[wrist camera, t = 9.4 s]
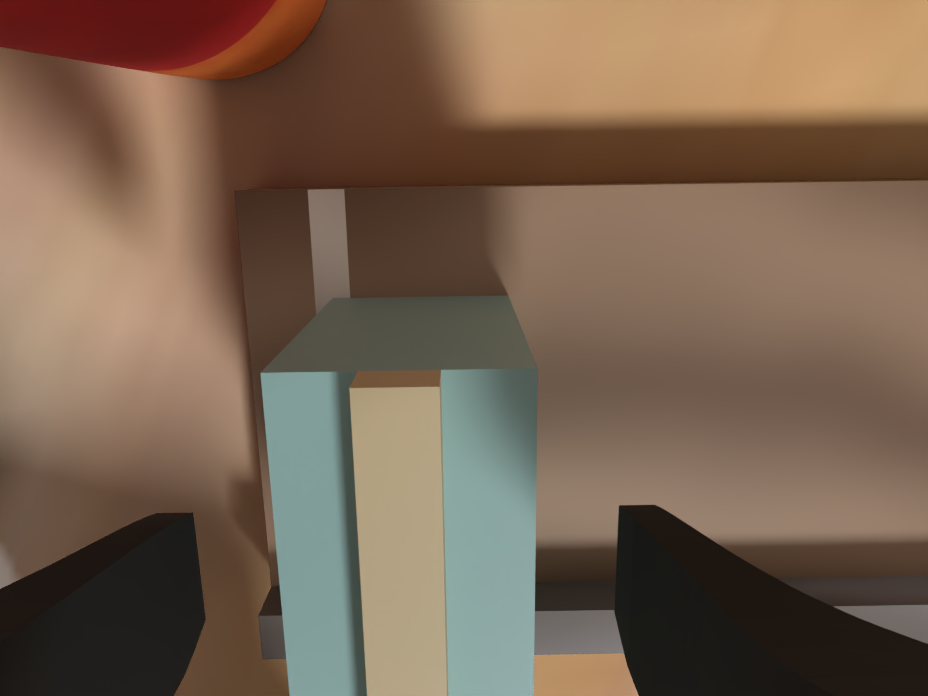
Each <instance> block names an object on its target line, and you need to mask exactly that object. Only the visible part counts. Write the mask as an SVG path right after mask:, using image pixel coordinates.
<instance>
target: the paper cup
mask: <svg viewBox="0 0 928 696" xmlns="http://www.w3.org/2000/svg"><path fill="white" fill-rule="evenodd" d="M326 2H327V0H0V47H5V48H11V49H16V50H22V51H28V52H33V53H39V54H45V55H51V56H57V57H63V58H69V59H75V60H80V61H86V62H92V63H98V64H104V65H110V66H116V67H122V68H128V69H134V70H141V71H147V72H153V73H159V74H166V75H173V76H181V77H190V78H198V79H233V78H239V77H244V76H248V75H251V74H255V73H258V72H260V71H263V70H265V69H268V68H270V67H271V66H273V65H275V64H277V63H278V62H280V61H282V60H283V59H285V58H286V57H287V56H288V55H290V54H291V53H292V52H293V51H294V50H295V49H297V48H298V47H299V46H300V44H301V43H302V42H303V41H304V40H305V39H306V38H307V36H308V35H309V34H310V32H311V31H312V29H313V28H314V26H315V25H316V23H317V21H318V20H319V18H320V16H321V14H322V11H323V9H324V7H325V4H326Z"/></svg>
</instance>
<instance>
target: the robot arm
mask: <svg viewBox="0 0 928 696" xmlns="http://www.w3.org/2000/svg"><path fill="white" fill-rule="evenodd" d="M614 613H615V617H616V621H617V626H618V630H619V634H620V638H621V643H622V646H623V650H624V654H625V658H626V662H627V666H628V668H629V671H630V674H631V676H632V679H633V682H634V684H635V687H636V689H637V692H638V695H639V696H928V644H927V643H924V642H921V641H918V640H916V639H913V638H910V637H907V636H905V635H902V634H899V633H897V632H894V631H891V630H888V629H886V628H883V627H880V626H878V625H875V624H873V623H870V622H868V621H865V620H863V619H860V618H858V617H855V616H853V615H851V614H848V613H846V612H844V611H842V610H840V609H837V608H835V607H833V606H831V605H829V604H826V603H824V602H822V601H820V600H818V599H815V598H813V597H811V596H809V595H807V594H805V593H803V592H801V591H799V590H797V589H795V588H793V587H791V586H789V585H787V584H786V583H784V582H782V581H780V580H778V579H777V578H775V577H773V576H771V575H769V574H768V573H766V572H764V571H762V570H760V569H758V568H757V567H755V566H753V565H752V564H750V563H748V562H747V561H745V560H743V559H742V558H740V557H738V556H737V555H735V554H733V553H732V552H730V551H729V550H727V549H725V548H724V547H722V546H721V545H719V544H717V543H716V542H714V541H713V540H711V539H710V538H708V537H707V536H705V535H703V534H702V533H700V532H699V531H697V530H696V529H694V528H693V527H691V526H690V525H688V524H687V523H685V522H684V521H682V520H680V519H679V518H677V517H676V516H674V515H673V514H671V513H669V512H668V511H666V510H664V509H662V508H661V507H659V506H657V505H619V514H618V538H617V561H616V584H615V608H614ZM205 620H206V619H205V611H204V602H203V594H202V585H201V577H200V568H199V560H198V551H197V543H196V534H195V526H194V517H193V513H156V514H154V515H151V516H148V517H145V518H143V519H141V520H138V521H136V522H134V523H132V524H130V525H128V526H126V527H123V528H121V529H119V530H117V531H115V532H113V533H112V534H110V535H108V536H106V537H104V538H102V539H100V540H98V541H96V542H94V543H92V544H90V545H88V546H86V547H84V548H82V549H80V550H79V551H77V552H75V553H73V554H71V555H69V556H67V557H65V558H63V559H61V560H59V561H57V562H55V563H53V564H51V565H49V566H47V567H45V568H43V569H41V570H39V571H37V572H35V573H33V574H31V575H29V576H26V577H24V578H22V579H20V580H18V581H16V582H14V583H12V584H10V585H8V586H6V587H3V588H2V589H0V696H174V694H175V692H176V690H177V688H178V686H179V685H180V683H181V681H182V679H183V677H184V675H185V673H186V670H187V668H188V665H189V663H190V660H191V658H192V655H193V653H194V650H195V648H196V645H197V642H198V639H199V636H200V634H201V631H202V628H203V625H204V622H205Z"/></svg>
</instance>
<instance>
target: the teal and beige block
mask: <svg viewBox="0 0 928 696" xmlns="http://www.w3.org/2000/svg"><path fill="white" fill-rule="evenodd" d="M260 374H261V385H262V396H263V407H264V418H265V429H266V440H267V451H268V462H269V473H270V484H271V496H272V507H273V518H274V529H275V540H276V551H277V562H278V573H279V584H280V595H281V606H282V617H283V628H284V639H285V651H286V662H287V673H288V684H289V695H290V696H534V634H535V555H536V476H537V397H538V367H537V365H536V363H535V360H534V358H533V355H532V353H531V350H530V348H529V345H528V343H527V340H526V338H525V335H524V333H523V330H522V328H521V325H520V323H519V320H518V318H517V315H516V313H515V311H514V308H513V306H512V303H511V301H510V298H509V296H508V295H501V296H437V297H373V298H332V299H331V300H330V301H329V302H328V303H327V304H326V305H325V306H324V307H323V308H322V310H321V311H320V312H319V313H318V314H317V315H316V316H315V317H314V318H313V319H312V320H311V321H310V322H309V323H308V324H307V325H306V326H305V327H304V328H303V329H302V330H301V331H300V332H299V333H298V334H297V335H296V336H295V338H294V339H293V340H292V341H291V342H290V343H289V344H288V345H287V346H286V347H285V348H284V349H283V350H282V351H281V352H280V353H279V354H278V355H277V356H276V357H275V358H274V359H273V360H272V361H271V362H270V363H269V364H268V366H267V367H266V368H265V369H264V370H263V371H262V372H261V373H260Z"/></svg>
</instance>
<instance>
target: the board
mask: <svg viewBox="0 0 928 696" xmlns="http://www.w3.org/2000/svg"><path fill="white" fill-rule="evenodd" d="M235 201H236V212H237V223H238V234H239V244H240V255H241V266H242V276H243V287H244V298H245V308H246V319H247V330H248V340H249V351H250V362H251V372H252V383H253V394H254V404H255V415H256V426H257V436H258V447H259V458H260V468H261V479H262V490H263V500H264V511H265V522H266V533H267V543H268V554H269V565H270V575H271V586H272V587H271V589H270V591H269V593H268V596H267V598H266V600H265V602H264V604H263V607H262V609H261V611H260V613H259V616H258V617H259V627H260V637H261V647H262V657H263V659H286V651H285V639H284V628H283V617H282V606H281V595H280V584H279V573H278V562H277V551H276V540H275V529H274V518H273V507H272V496H271V484H270V473H269V462H268V451H267V440H266V429H265V418H264V407H263V396H262V385H261V374H260V373H261V372H262V371H263V370H264V369H265V368H266V367H267V366H268V364H269V363H270V362H271V361H272V360H273V359H274V358H275V357H276V356H277V355H278V354H279V353H280V352H281V351H282V350H283V349H284V348H285V347H286V346H287V345H288V344H289V343H290V342H291V341H292V340H293V339H294V338H295V336H296V335H297V334H298V333H299V332H300V331H301V330H302V329H303V328H304V327H305V326H306V325H307V324H308V323H309V322H310V321H311V320H312V319H313V318H314V317H315V316H316V315H317V314H318V313H319V312H320V311H321V310H322V308H323V307H324V306H325V305H326V304H327V303H328V302H329V301H330V300H331V299H332V298H373V297H437V296H501V295H508V296H509V298H510V301H511V303H512V306H513V308H514V311H515V313H516V315H517V318H518V320H519V323H520V325H521V328H522V330H523V333H524V335H525V338H526V340H527V343H528V345H529V348H530V350H531V353H532V355H533V358H534V360H535V363H536V365H537V367H538V397H537V476H536V555H535V634H534V655H550V654H610V653H624V650H623V646H622V643H621V638H620V634H619V630H618V626H617V621H616V617H615V613H614V608H615V584H616V561H617V538H618V514H619V505H657V506H659V507H661V508H662V509H664V510H666V511H668V512H669V513H671V514H673V515H674V516H676V517H677V518H679V519H680V520H682V521H684V522H685V523H687V524H688V525H690V526H691V527H693V528H694V529H696V530H697V531H699V532H700V533H702V534H703V535H705V536H707V537H708V538H710V539H711V540H713V541H714V542H716V543H717V544H719V545H721V546H722V547H724V548H725V549H727V550H729V551H730V552H732V553H733V554H735V555H737V556H738V557H740V558H742V559H743V560H745V561H747V562H748V563H750V564H752V565H753V566H755V567H757V568H758V569H760V570H762V571H764V572H766V573H768V574H769V575H771V576H773V577H775V578H777V579H778V580H780V581H782V582H784V583H786V584H787V585H789V586H791V587H793V588H795V589H797V590H799V591H801V592H803V593H805V594H807V595H809V596H811V597H813V598H815V599H818V600H820V601H822V602H824V603H826V604H829V605H831V606H833V607H835V608H837V609H840V610H842V611H844V612H846V613H848V614H851V615H853V616H855V617H858V618H860V619H863V620H865V621H868V622H870V623H873V624H875V625H878V626H880V627H883V628H886V629H888V630H891V631H894V632H897V633H899V634H902V635H905V636H907V637H910V638H913V639H916V640H918V641H921V642H924V643H927V644H928V179H893V180H825V181H757V182H689V183H621V184H553V185H485V186H417V187H349V188H281V189H248V190H238V191H235Z"/></svg>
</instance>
